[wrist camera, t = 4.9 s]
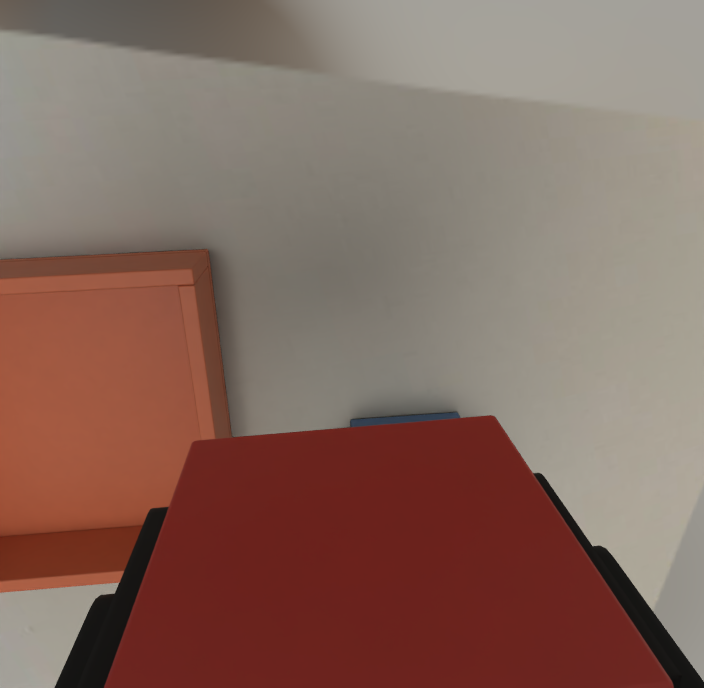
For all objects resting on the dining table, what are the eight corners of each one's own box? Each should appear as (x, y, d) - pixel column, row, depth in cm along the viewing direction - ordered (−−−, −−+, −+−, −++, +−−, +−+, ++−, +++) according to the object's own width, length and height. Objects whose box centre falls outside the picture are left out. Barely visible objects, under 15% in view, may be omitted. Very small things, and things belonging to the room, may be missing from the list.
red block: (191, 438, 9) (75, 755, 5) (494, 413, 9) (679, 686, 5) (230, 665, 11) (175, 1062, 6) (485, 638, 11) (614, 998, 7)
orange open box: (-110, 265, 22) (-182, 287, 19) (208, 248, 23) (192, 268, 20) (-20, 541, 27) (-65, 598, 23) (242, 520, 28) (234, 573, 24)
